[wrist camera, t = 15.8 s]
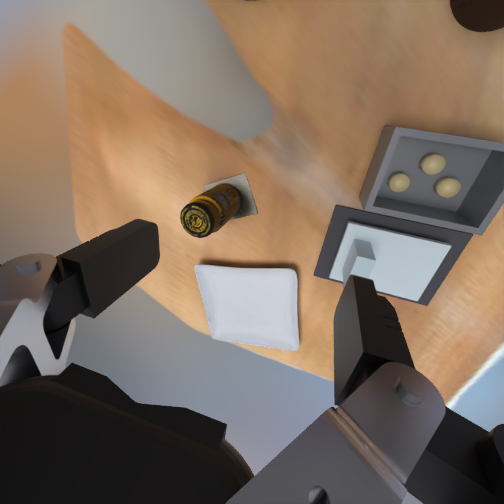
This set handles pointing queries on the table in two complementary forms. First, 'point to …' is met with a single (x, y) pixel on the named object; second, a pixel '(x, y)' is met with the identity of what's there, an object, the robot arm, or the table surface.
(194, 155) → the table surface
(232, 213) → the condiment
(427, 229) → the mat
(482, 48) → the table surface
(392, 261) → the lid
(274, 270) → the salad plate
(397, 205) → the tub
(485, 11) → the olive oil
